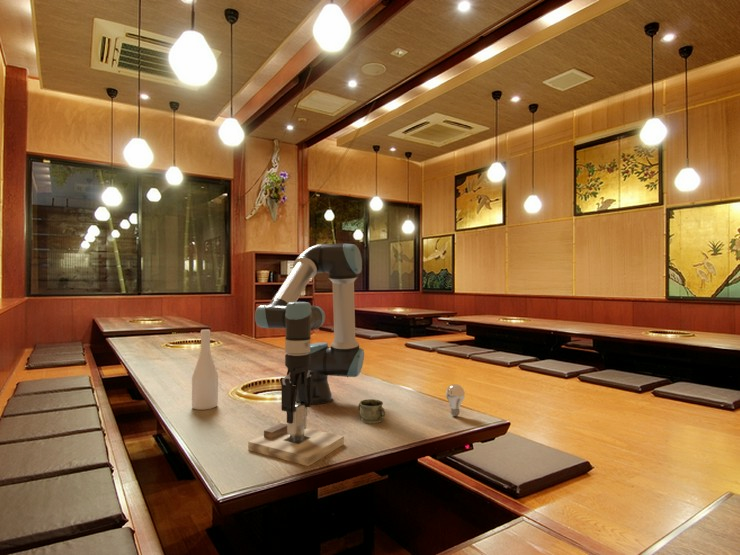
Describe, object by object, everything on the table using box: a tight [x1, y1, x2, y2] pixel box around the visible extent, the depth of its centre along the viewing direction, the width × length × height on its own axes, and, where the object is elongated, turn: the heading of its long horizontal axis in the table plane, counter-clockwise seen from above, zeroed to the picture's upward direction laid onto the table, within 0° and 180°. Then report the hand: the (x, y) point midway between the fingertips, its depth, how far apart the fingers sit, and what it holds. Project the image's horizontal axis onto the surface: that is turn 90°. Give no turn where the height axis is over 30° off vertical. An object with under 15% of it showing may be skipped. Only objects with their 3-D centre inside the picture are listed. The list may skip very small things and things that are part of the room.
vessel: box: [357, 398, 386, 424], centre depth 161 cm, size 12×9×6 cm
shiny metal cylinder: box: [290, 402, 305, 444], centre depth 134 cm, size 4×4×12 cm
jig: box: [247, 422, 345, 467], centre depth 134 cm, size 22×18×4 cm
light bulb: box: [445, 383, 465, 418], centre depth 165 cm, size 7×7×12 cm
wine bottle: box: [191, 329, 219, 411], centre depth 174 cm, size 10×10×30 cm
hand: (296, 430), depth 134 cm, fingers closed on shiny metal cylinder, 4 cm apart
